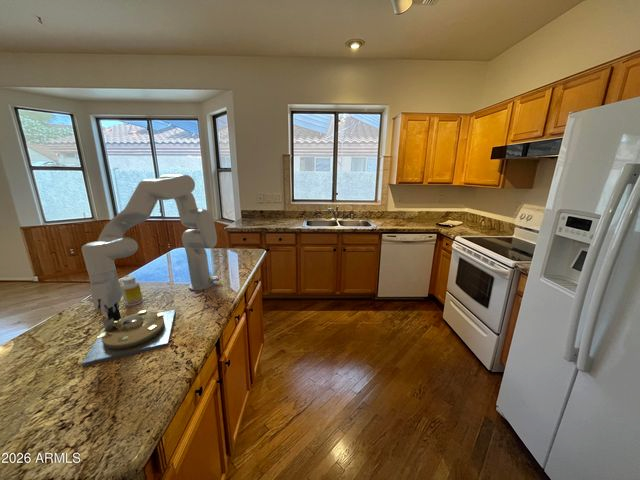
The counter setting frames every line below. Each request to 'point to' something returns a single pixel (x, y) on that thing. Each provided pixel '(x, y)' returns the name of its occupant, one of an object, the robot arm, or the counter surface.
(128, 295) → the supplement bottle
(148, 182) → the robot arm
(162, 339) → the cap plate
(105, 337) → the notched gold disc
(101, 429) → the counter surface
